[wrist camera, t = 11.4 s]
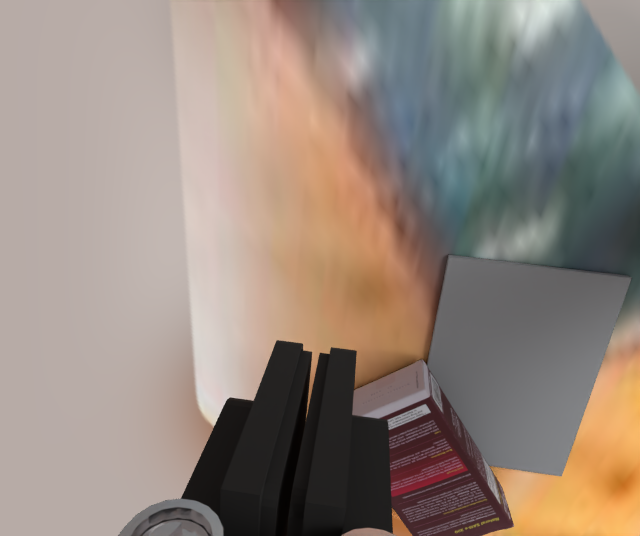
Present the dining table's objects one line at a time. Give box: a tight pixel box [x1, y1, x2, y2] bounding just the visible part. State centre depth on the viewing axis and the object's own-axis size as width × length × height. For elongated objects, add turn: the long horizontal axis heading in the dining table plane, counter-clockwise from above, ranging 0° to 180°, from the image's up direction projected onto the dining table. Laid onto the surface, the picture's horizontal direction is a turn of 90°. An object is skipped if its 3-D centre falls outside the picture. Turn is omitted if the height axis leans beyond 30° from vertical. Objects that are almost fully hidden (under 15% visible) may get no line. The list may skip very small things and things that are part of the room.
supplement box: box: [352, 359, 514, 536], centre depth 43 cm, size 9×5×16 cm
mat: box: [427, 255, 632, 476], centre depth 42 cm, size 14×20×1 cm
